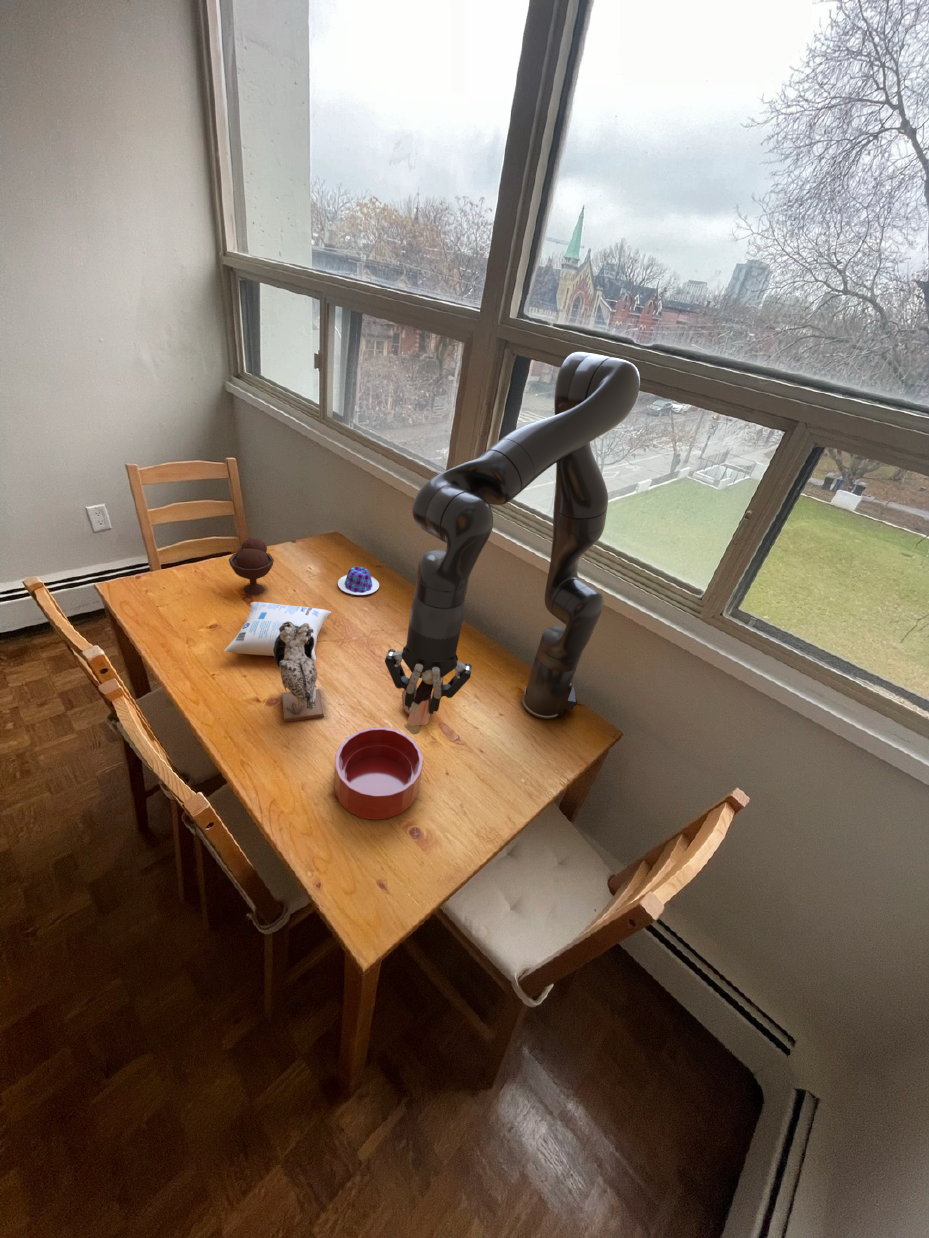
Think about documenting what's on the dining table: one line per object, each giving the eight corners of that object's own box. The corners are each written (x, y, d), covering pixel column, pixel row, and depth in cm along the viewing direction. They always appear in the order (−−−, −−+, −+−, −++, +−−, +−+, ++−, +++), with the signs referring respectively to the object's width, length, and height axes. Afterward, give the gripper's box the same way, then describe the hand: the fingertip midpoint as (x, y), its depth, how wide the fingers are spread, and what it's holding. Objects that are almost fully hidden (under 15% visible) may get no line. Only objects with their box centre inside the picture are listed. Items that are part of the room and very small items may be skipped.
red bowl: (424, 759, 101) (428, 735, 97) (410, 828, 88) (414, 803, 84) (348, 745, 101) (349, 720, 97) (322, 812, 88) (322, 786, 84)
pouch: (221, 635, 110) (315, 642, 112) (249, 592, 126) (331, 598, 128) (225, 664, 114) (316, 670, 116) (252, 618, 130) (331, 625, 132)
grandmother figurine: (422, 741, 81) (440, 683, 74) (399, 734, 81) (415, 676, 74) (432, 709, 87) (449, 653, 80) (410, 702, 87) (426, 646, 80)
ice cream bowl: (232, 580, 142) (227, 531, 134) (275, 579, 146) (272, 532, 137) (230, 601, 134) (224, 550, 126) (275, 599, 138) (272, 550, 129)
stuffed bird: (304, 671, 116) (303, 608, 107) (346, 726, 104) (349, 662, 95) (260, 685, 110) (255, 620, 101) (300, 746, 99) (298, 679, 89)
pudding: (387, 586, 152) (388, 571, 149) (360, 601, 143) (361, 586, 140) (356, 571, 157) (357, 556, 154) (328, 585, 148) (329, 569, 145)
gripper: (381, 627, 70) (373, 716, 79) (482, 645, 70) (461, 733, 79) (392, 599, 76) (384, 685, 85) (484, 616, 76) (465, 700, 86)
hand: (421, 708), depth 82 cm, fingers closed on grandmother figurine, 3 cm apart
